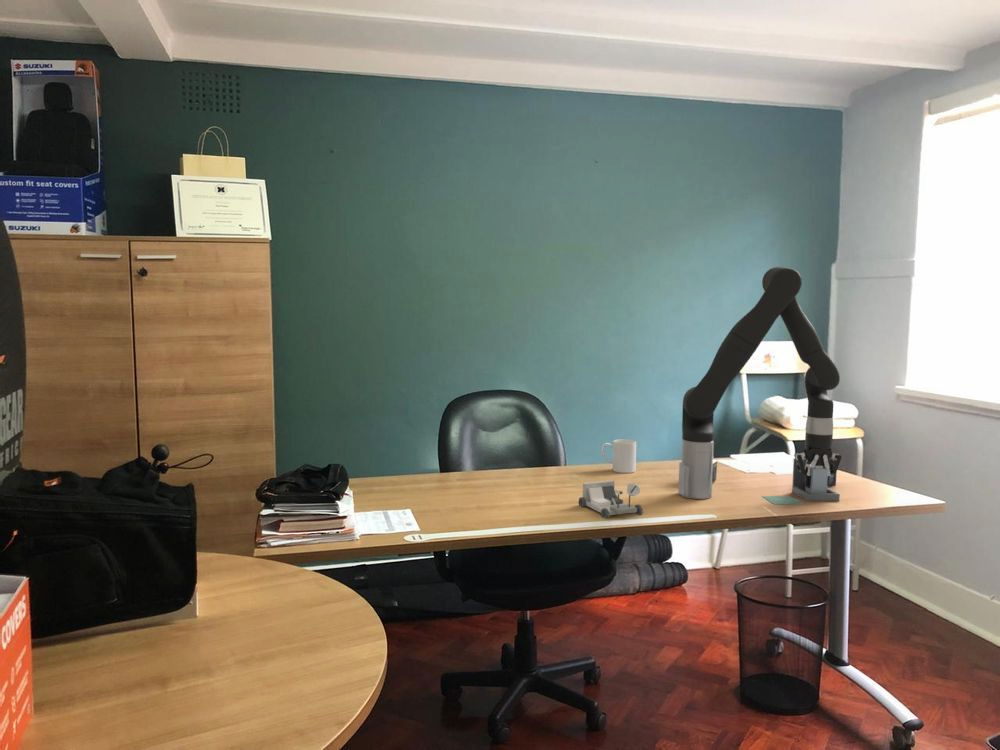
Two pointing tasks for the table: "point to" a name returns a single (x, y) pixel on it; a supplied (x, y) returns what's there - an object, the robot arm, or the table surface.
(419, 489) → the table surface
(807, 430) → the robot arm
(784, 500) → the pad
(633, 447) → the mug
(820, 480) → the module
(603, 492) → the toy car
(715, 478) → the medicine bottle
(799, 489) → the case
